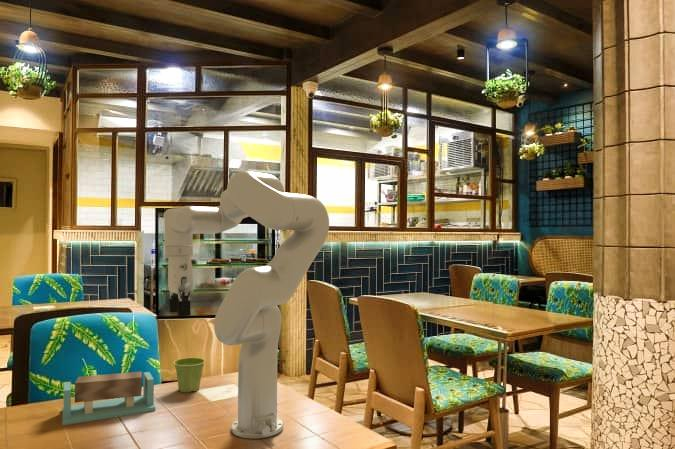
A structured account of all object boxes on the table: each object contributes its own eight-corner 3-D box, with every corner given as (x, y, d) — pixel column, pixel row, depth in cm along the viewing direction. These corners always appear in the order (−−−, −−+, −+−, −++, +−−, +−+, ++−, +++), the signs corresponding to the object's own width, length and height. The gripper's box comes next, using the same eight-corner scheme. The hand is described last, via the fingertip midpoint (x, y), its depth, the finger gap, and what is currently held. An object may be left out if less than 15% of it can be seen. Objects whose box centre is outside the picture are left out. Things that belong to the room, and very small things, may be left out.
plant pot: (209, 385, 156) (209, 357, 156) (198, 395, 147) (198, 365, 147) (180, 384, 157) (181, 357, 157) (167, 394, 148) (168, 364, 148)
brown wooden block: (74, 402, 128) (74, 383, 128) (78, 395, 134) (78, 376, 134) (141, 395, 134) (141, 377, 134) (141, 389, 139) (141, 371, 139)
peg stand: (148, 397, 144) (149, 370, 145) (155, 410, 134) (155, 380, 134) (62, 410, 134) (63, 380, 134) (62, 425, 123) (62, 393, 123)
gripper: (200, 252, 134) (201, 316, 133) (184, 252, 148) (185, 309, 148) (172, 253, 130) (173, 318, 129) (158, 252, 144) (159, 311, 144)
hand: (179, 313), depth 138 cm, fingers open, 9 cm apart
